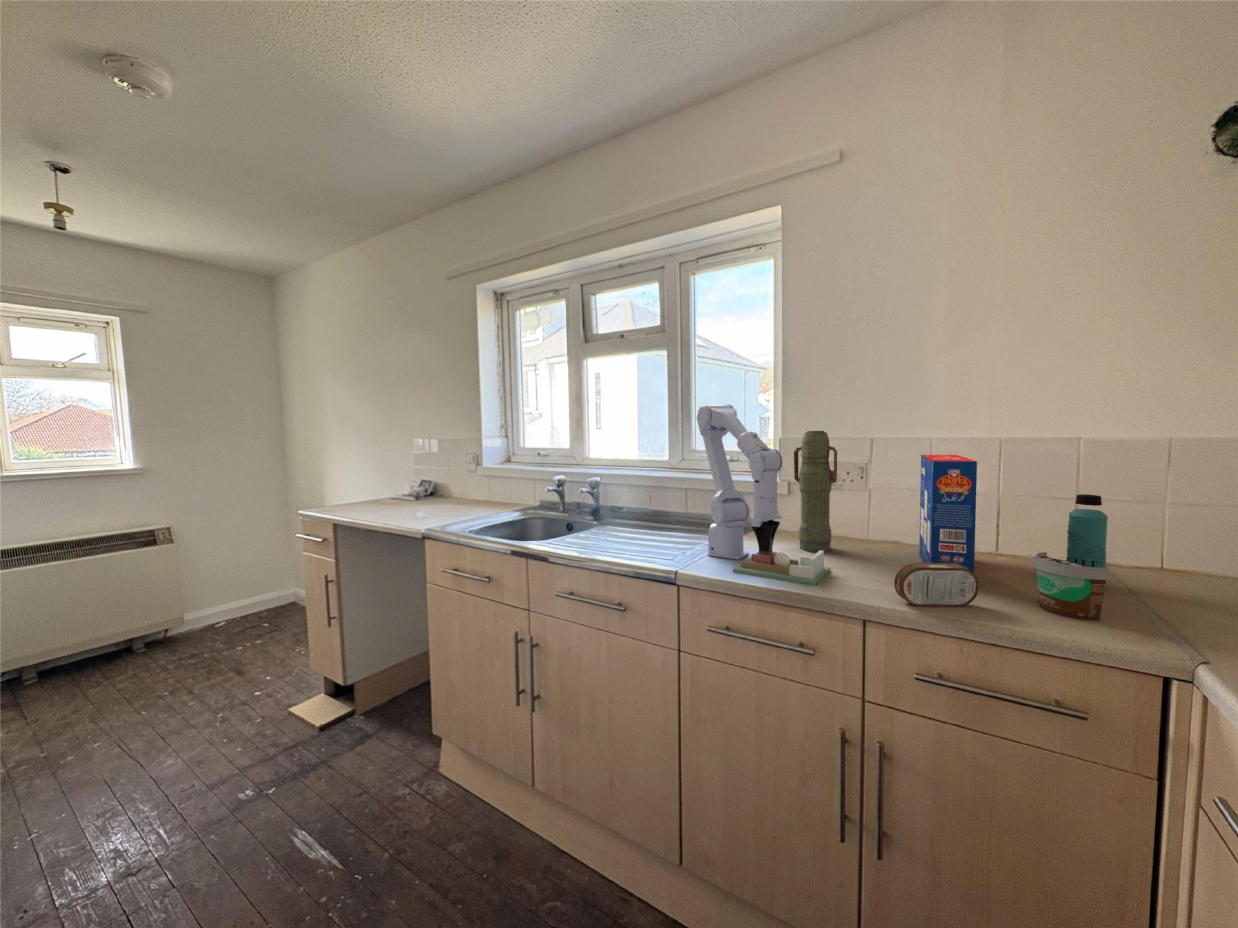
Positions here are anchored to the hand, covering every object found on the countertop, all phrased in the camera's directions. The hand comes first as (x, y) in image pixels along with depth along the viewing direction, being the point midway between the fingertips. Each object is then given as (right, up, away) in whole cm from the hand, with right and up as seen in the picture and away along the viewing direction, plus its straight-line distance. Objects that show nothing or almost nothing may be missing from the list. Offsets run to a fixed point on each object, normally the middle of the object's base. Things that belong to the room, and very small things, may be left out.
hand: (765, 550), depth 123 cm
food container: (+46, -6, -32) cm, 56 cm away
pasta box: (+44, -4, -3) cm, 44 cm away
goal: (+8, -5, -6) cm, 11 cm away
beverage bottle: (+66, -5, -17) cm, 68 cm away
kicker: (0, -5, 0) cm, 5 cm away
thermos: (+21, -3, +20) cm, 29 cm away
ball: (+3, -2, -2) cm, 5 cm away
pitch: (+3, -5, -2) cm, 6 cm away
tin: (+26, -6, -27) cm, 38 cm away
